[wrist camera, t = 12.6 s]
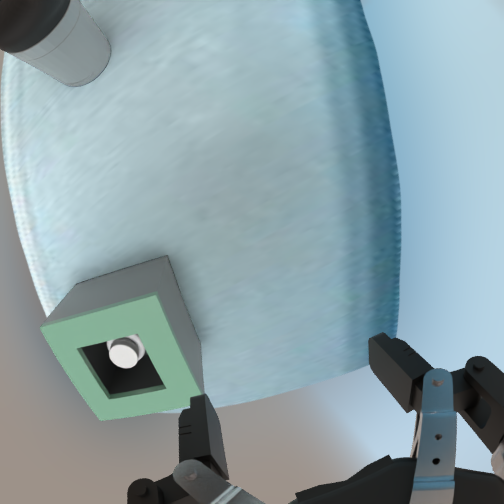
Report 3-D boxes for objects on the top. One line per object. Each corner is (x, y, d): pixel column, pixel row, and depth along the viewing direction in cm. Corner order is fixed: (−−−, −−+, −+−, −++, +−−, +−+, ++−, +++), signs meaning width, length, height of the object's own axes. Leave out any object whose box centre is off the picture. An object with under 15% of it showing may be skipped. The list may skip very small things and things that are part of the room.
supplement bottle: (154, 331, 45) (148, 372, 36) (121, 334, 44) (110, 374, 35) (146, 300, 43) (137, 338, 34) (113, 304, 42) (97, 341, 33)
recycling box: (76, 283, 41) (39, 327, 28) (167, 255, 43) (156, 294, 29) (116, 364, 46) (100, 420, 33) (200, 343, 48) (205, 402, 34)
